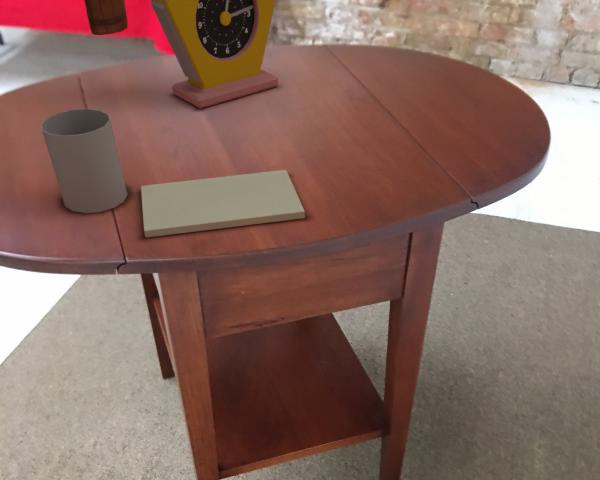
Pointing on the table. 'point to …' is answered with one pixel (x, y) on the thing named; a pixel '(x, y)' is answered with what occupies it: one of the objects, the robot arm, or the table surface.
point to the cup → (85, 159)
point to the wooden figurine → (106, 16)
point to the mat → (219, 203)
